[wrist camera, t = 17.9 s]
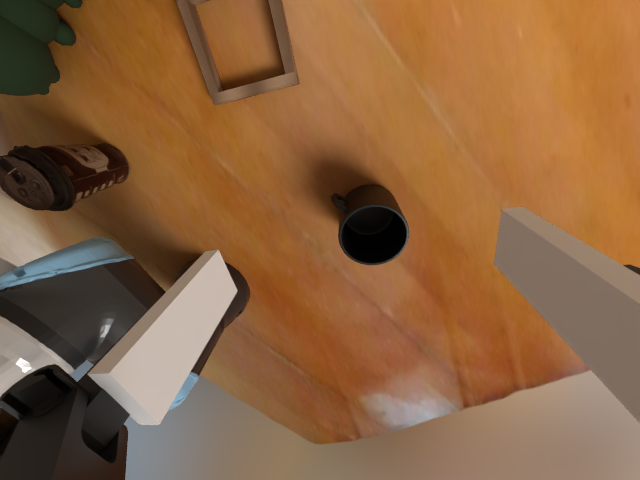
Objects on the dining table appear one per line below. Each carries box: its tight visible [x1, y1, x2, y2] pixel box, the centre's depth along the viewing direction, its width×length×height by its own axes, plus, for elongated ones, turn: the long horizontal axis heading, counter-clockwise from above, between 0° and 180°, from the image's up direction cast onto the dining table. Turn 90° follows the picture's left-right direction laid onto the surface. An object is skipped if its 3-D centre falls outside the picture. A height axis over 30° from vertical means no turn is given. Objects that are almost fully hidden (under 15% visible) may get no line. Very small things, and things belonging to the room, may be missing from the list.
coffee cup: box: [0, 144, 130, 211], centre depth 36 cm, size 9×8×13 cm
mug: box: [331, 185, 409, 265], centre depth 37 cm, size 9×12×9 cm
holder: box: [176, 0, 299, 105], centre depth 31 cm, size 12×12×2 cm
